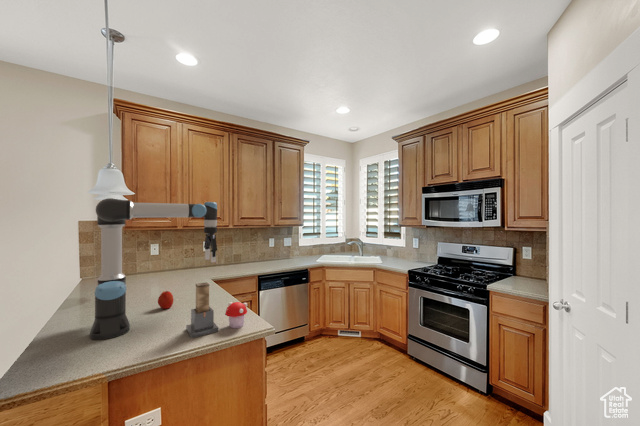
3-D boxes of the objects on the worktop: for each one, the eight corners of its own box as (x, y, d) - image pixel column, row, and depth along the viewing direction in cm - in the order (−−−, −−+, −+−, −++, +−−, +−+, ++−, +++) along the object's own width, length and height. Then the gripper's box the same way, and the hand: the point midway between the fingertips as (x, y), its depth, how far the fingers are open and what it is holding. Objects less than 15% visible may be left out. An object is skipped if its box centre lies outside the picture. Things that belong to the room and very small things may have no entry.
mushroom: (251, 324, 140) (252, 300, 140) (235, 332, 130) (235, 307, 130) (237, 320, 145) (237, 297, 145) (220, 327, 136) (220, 303, 136)
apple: (155, 310, 159) (155, 292, 160) (162, 306, 168) (162, 288, 168) (169, 310, 160) (169, 292, 160) (176, 305, 168) (176, 288, 168)
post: (197, 329, 128) (197, 286, 129) (195, 325, 132) (195, 283, 133) (209, 326, 131) (209, 284, 132) (206, 322, 136) (206, 282, 136)
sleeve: (191, 338, 124) (191, 316, 124) (186, 329, 133) (186, 309, 133) (218, 331, 131) (218, 310, 131) (211, 323, 140) (211, 304, 140)
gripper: (223, 227, 161) (222, 262, 161) (211, 226, 181) (211, 257, 181) (209, 227, 157) (209, 264, 156) (199, 226, 176) (199, 258, 176)
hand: (210, 260), depth 168 cm, fingers open, 13 cm apart
